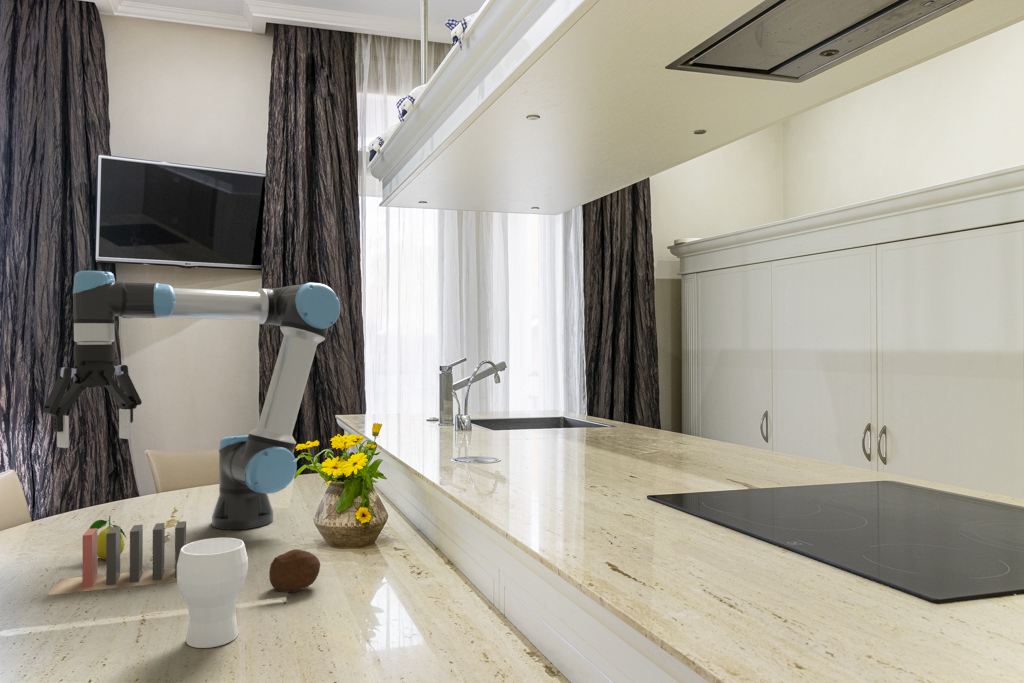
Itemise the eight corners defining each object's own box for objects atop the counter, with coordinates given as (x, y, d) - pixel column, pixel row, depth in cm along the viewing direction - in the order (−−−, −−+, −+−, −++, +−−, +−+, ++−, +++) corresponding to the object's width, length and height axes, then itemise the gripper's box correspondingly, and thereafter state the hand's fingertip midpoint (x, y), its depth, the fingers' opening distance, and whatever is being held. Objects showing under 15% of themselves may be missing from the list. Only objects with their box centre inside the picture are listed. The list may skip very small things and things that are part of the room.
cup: (191, 625, 118) (191, 537, 118) (255, 623, 119) (255, 536, 119) (165, 653, 107) (165, 556, 107) (236, 651, 108) (236, 555, 108)
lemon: (88, 561, 151) (88, 515, 151) (117, 555, 155) (118, 511, 155) (98, 568, 147) (98, 521, 146) (128, 562, 151) (128, 516, 151)
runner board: (203, 568, 147) (203, 564, 147) (200, 582, 139) (200, 578, 139) (60, 583, 138) (60, 579, 138) (47, 599, 129) (47, 594, 129)
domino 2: (120, 576, 140) (120, 526, 140) (115, 584, 135) (115, 532, 135) (111, 577, 139) (111, 527, 139) (106, 585, 135) (106, 533, 135)
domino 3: (142, 573, 141) (142, 524, 141) (138, 581, 137) (139, 531, 137) (133, 574, 141) (133, 525, 141) (129, 582, 136) (129, 531, 136)
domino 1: (97, 578, 138) (97, 528, 138) (92, 586, 134) (92, 534, 134) (88, 579, 138) (88, 528, 138) (82, 587, 133) (82, 535, 133)
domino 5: (185, 569, 144) (186, 521, 144) (183, 577, 139) (184, 527, 139) (177, 570, 144) (177, 521, 143) (174, 578, 139) (175, 528, 139)
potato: (262, 593, 133) (262, 551, 133) (305, 579, 141) (305, 540, 141) (285, 602, 129) (285, 559, 129) (328, 587, 137) (328, 547, 137)
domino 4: (164, 571, 143) (164, 522, 143) (161, 579, 138) (161, 529, 138) (155, 572, 142) (155, 523, 142) (152, 580, 137) (152, 529, 137)
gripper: (136, 342, 162) (136, 434, 162) (21, 344, 139) (22, 450, 140) (158, 342, 159) (158, 436, 159) (44, 344, 136) (45, 452, 136)
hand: (95, 442), depth 149 cm, fingers open, 13 cm apart
